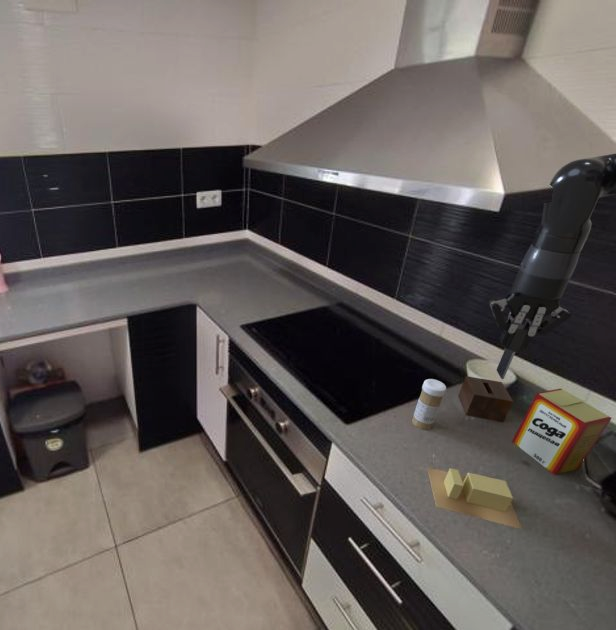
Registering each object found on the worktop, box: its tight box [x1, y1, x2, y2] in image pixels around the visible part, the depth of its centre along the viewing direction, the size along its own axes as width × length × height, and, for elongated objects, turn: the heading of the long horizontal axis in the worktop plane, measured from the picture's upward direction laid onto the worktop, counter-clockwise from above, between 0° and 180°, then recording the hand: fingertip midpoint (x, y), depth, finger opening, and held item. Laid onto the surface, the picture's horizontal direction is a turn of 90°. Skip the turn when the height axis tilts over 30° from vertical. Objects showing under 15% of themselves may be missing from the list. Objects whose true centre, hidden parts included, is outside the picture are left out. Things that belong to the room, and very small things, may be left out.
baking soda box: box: [511, 387, 612, 476], centre depth 81 cm, size 10×6×16 cm
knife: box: [496, 323, 528, 380], centre depth 81 cm, size 2×4×12 cm, turn 159°
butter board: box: [426, 466, 523, 530], centre depth 76 cm, size 14×10×1 cm
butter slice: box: [444, 467, 463, 500], centre depth 76 cm, size 2×4×4 cm, turn 161°
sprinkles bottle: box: [411, 378, 447, 431], centre depth 91 cm, size 5×5×13 cm
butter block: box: [463, 472, 514, 512], centre depth 74 cm, size 6×4×4 cm, turn 71°
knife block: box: [457, 375, 514, 423], centre depth 97 cm, size 8×8×8 cm
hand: (511, 347), depth 80 cm, fingers closed on knife, 2 cm apart
